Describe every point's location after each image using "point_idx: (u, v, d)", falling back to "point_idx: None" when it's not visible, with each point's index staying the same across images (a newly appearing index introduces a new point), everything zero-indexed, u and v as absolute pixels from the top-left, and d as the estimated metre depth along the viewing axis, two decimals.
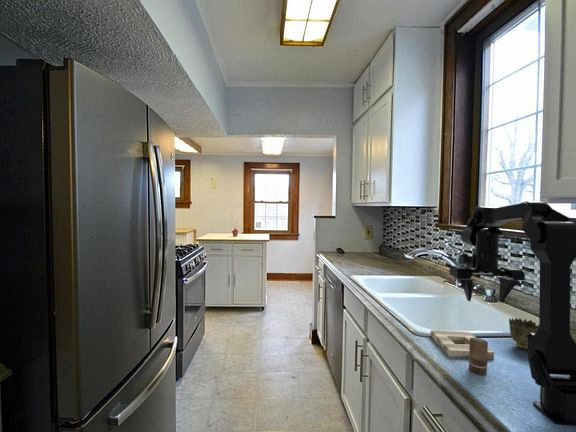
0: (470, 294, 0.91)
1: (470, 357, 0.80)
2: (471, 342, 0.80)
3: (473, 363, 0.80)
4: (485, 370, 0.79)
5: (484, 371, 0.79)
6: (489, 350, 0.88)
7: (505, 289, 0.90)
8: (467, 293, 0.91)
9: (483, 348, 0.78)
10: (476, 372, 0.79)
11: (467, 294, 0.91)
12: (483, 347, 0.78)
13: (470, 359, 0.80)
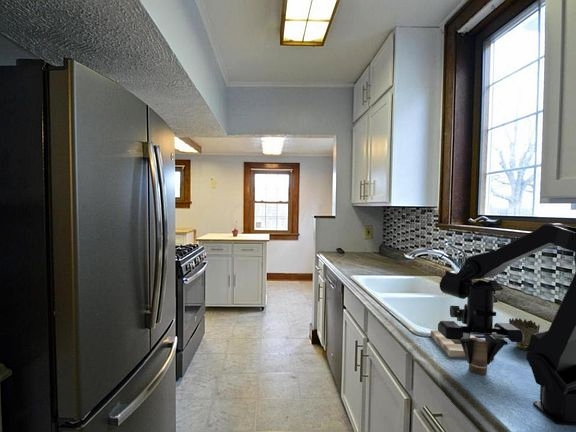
0: (470, 356, 0.79)
1: None
2: None
3: (473, 363, 0.80)
4: (485, 370, 0.79)
5: (484, 371, 0.79)
6: None
7: (491, 350, 0.79)
8: (467, 355, 0.80)
9: (483, 348, 0.78)
10: (476, 372, 0.79)
11: (467, 356, 0.80)
12: (483, 347, 0.78)
13: None
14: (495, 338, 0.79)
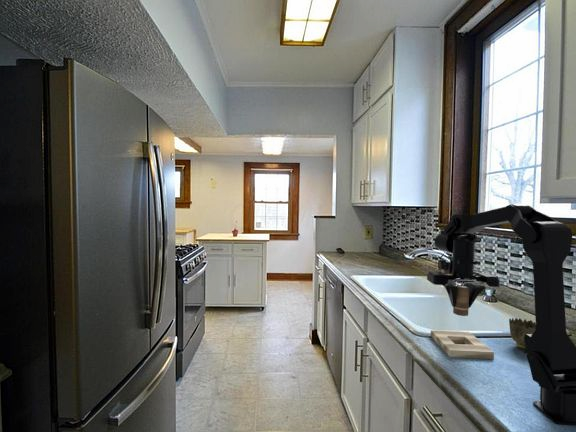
0: (454, 300, 0.92)
1: None
2: None
3: (456, 306, 0.93)
4: (467, 312, 0.92)
5: (466, 312, 0.92)
6: (489, 350, 0.88)
7: (472, 295, 0.92)
8: (451, 299, 0.93)
9: (465, 293, 0.91)
10: (459, 313, 0.92)
11: (451, 300, 0.93)
12: (465, 291, 0.91)
13: None
14: (475, 284, 0.91)
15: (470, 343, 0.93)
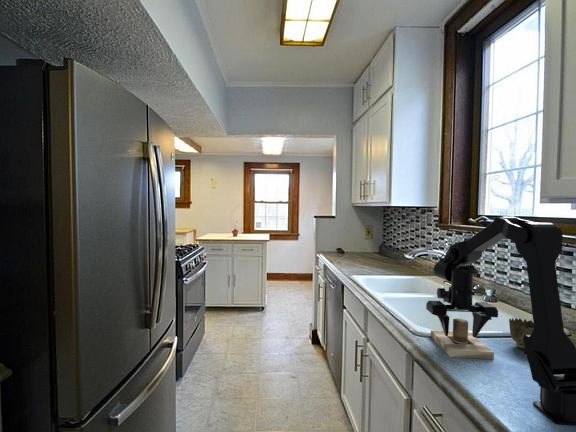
0: (447, 330, 0.93)
1: (453, 335, 0.94)
2: (454, 322, 0.94)
3: (456, 340, 0.93)
4: None
5: None
6: (489, 350, 0.88)
7: (477, 325, 0.92)
8: (444, 328, 0.94)
9: (464, 327, 0.92)
10: None
11: (444, 329, 0.94)
12: (464, 326, 0.92)
13: (453, 336, 0.94)
14: (481, 314, 0.92)
15: (470, 343, 0.93)
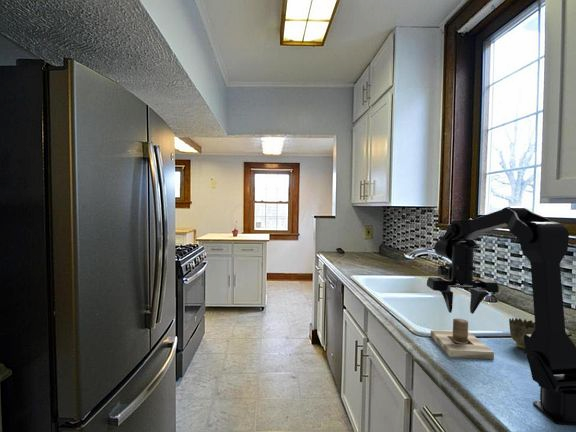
0: (451, 306, 0.93)
1: (453, 335, 0.94)
2: (454, 322, 0.94)
3: (456, 340, 0.93)
4: None
5: None
6: (489, 350, 0.88)
7: (475, 301, 0.92)
8: (448, 305, 0.93)
9: (464, 327, 0.92)
10: None
11: (448, 306, 0.93)
12: (464, 326, 0.92)
13: (453, 336, 0.94)
14: (478, 290, 0.92)
15: (470, 343, 0.93)
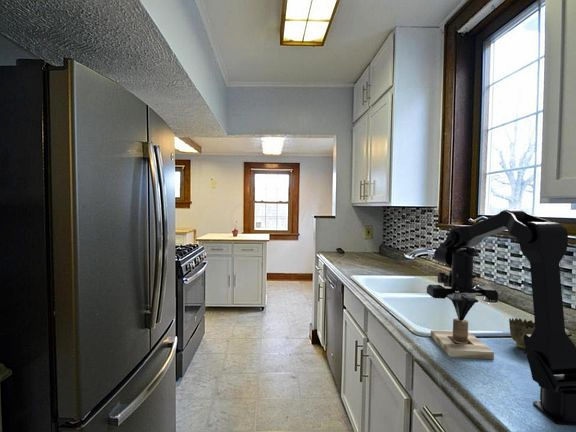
0: (461, 314, 0.93)
1: (453, 335, 0.94)
2: (454, 322, 0.94)
3: (456, 340, 0.93)
4: None
5: None
6: (489, 350, 0.88)
7: (464, 308, 0.92)
8: (458, 312, 0.93)
9: (464, 327, 0.92)
10: None
11: (458, 313, 0.93)
12: (464, 326, 0.92)
13: (453, 336, 0.94)
14: (468, 297, 0.92)
15: (470, 343, 0.93)
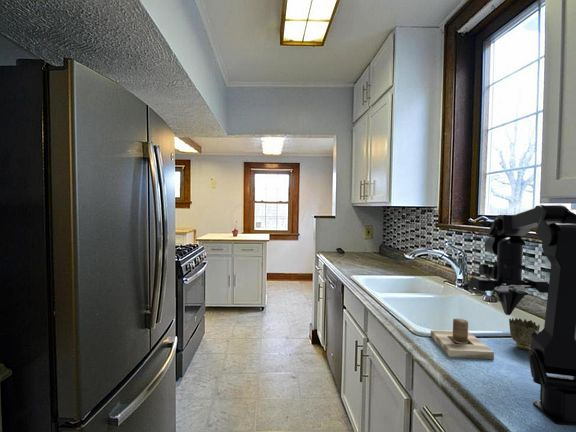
0: (508, 307, 0.86)
1: (453, 335, 0.94)
2: (454, 322, 0.94)
3: (456, 340, 0.93)
4: None
5: None
6: (489, 350, 0.88)
7: (512, 301, 0.86)
8: (505, 306, 0.86)
9: (464, 327, 0.92)
10: None
11: (505, 307, 0.87)
12: (464, 326, 0.92)
13: (453, 336, 0.94)
14: (516, 290, 0.86)
15: (470, 343, 0.93)
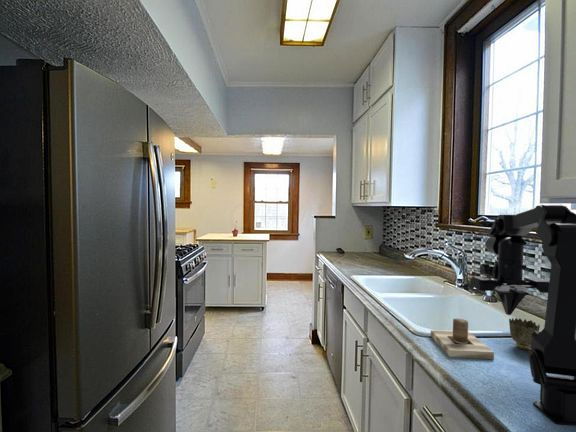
0: (509, 307, 0.86)
1: (453, 335, 0.94)
2: (454, 322, 0.94)
3: (456, 340, 0.93)
4: None
5: None
6: (489, 350, 0.88)
7: (513, 301, 0.86)
8: (506, 306, 0.86)
9: (464, 327, 0.92)
10: None
11: (506, 307, 0.86)
12: (464, 326, 0.92)
13: (453, 336, 0.94)
14: (517, 290, 0.85)
15: (470, 343, 0.93)
